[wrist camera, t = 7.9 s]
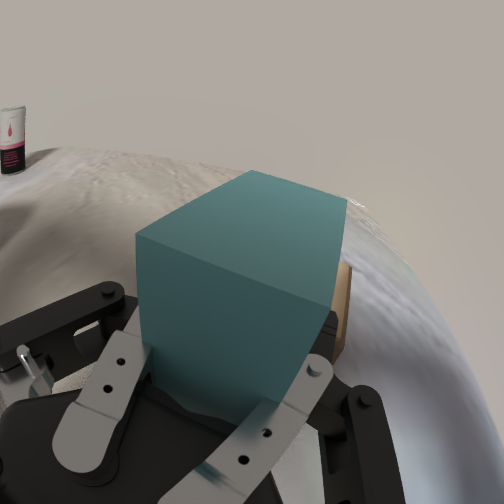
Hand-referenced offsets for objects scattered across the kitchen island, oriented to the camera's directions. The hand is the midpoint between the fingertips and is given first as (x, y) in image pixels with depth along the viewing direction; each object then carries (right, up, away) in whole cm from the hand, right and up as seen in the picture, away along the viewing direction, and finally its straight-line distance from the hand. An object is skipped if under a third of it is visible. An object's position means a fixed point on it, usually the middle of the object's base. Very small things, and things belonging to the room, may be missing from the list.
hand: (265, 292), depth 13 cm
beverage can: (-55, +20, +32) cm, 66 cm away
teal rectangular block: (-2, -7, +1) cm, 8 cm away
